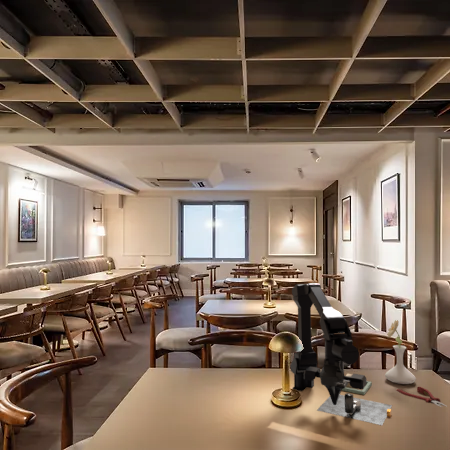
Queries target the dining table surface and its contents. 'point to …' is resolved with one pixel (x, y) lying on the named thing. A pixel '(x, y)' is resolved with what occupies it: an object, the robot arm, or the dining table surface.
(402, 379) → the flower in vase
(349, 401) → the crank
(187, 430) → the dining table surface
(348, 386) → the block
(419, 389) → the pliers
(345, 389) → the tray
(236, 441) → the dining table surface
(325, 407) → the base
